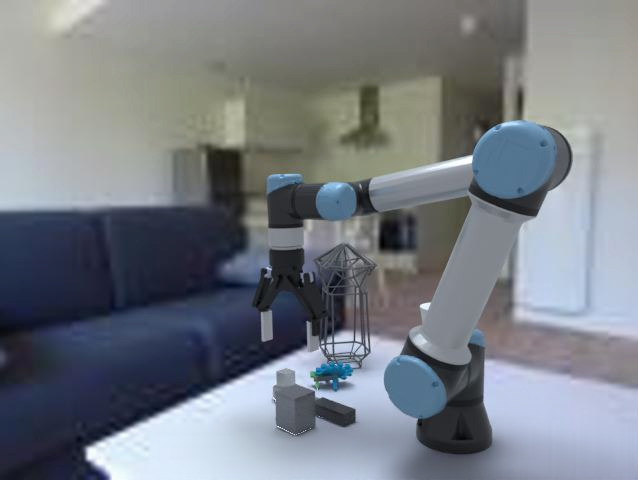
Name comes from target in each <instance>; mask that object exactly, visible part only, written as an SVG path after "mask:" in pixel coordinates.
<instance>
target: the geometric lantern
mask: <svg viewBox="0 0 638 480" xmlns="http://www.w3.org/2000/svg"><path fill="white" fill-rule="evenodd" d="M347 248H348V250H349V251H350V252H351V253H352V254H353V255H354V256H355V257H353V258H350V255H349V252H348V250H347ZM340 256H341V257H340ZM339 258H341V259H339ZM359 260H361V261H362V263H363V266H357V267H354V265H355V264H356V263H357V262H358V261H359ZM352 261H353V262H352ZM312 262H314V265H315V266H316V269H317V275H318V276H319V277H320V281H321V284H322V287H321V292H322V293H321V296H322V299H323V301H324V300H325V293H326V300H325V301H326V302H325V301H324V302H325V307H326V309H327V312H328V313H329V304H330V301H329V300H330V296H331V340H332V341H331V342H327V341H328V325H329V323H328V321H329V316H328V317H326V318H323V319H325V321H324V335H322V334H323V319H321V321H320V327H321V333H320V335H319V350H321V353H322V355H323V356H324V358H326V363H327V365H328V364H329V363H328V362H329V361H331V362H334V364H335V365H337V366H338V362H340V361H342V362H343V364H352V363H356V364H357V365H359V366H358V367H352V368H353V370H357V369H362V367H363V360H364V359H365V358H366V357H368V355H370V354H371V352H372V351H371V350H372V349H371V335H370V334H371V333H370V320H369V318H370V317H369V316H370V315H369V303H368V301H369V298H368V293H369V292H368V291H367V290H366V288H367V278H368V276H371V275H372V272H373V271H374V269H376V267H378V264H376V262H374V261H373V260H371V259H370V258H369V257H367V256H366V255H364V254H363V253H362V252H361V251H359V250H358V249H357V248H355V247H354V246H352V245H351V244H350V243H346V242H340V243H339V244H338V245H337V244H336V246H334V247H332V248H330V249H329V250H327V251H326V252H324V253H323V254H321V255H319V256H318V257H316V258H314V259H312ZM329 262H330V264H329ZM348 262H349V263H348ZM333 263H335V266H334V265H332V264H333ZM338 263H340V266H338ZM347 263H348V264H349V266H347ZM326 266H327V267H326ZM324 269H326V270H328V269H329V270H330V271H331V272H332V274H331V277H330V278H329V281H328V283H327V285H326V282H325V279H324V271H325V270H324ZM360 269H361V270H362V269H363V270H362V271H359V272H358V273H356V274H355V271H356V270H360ZM348 270H351V272H352V276H350V275H349V273H348V272H347V271H348ZM339 272H341V274H340V273H339ZM344 273H345V274H346V276H347V277H345V275H344ZM335 274H336V275H337V276H338V277H340V278H341V279H340V280H339V281H338V283H337V284H336V285H333V286H331V285H330V284H331V282H332V280H333V278H334V276H335ZM362 274H363V277H362V279H361V282H360V284H359V282H358V280H357V279H356V277H358V276H360V275H362ZM342 280H344V281H345V280H346V281H347V280H350V281H351V283H352V284H353V285H352V284H351V285H340V283H341V282H342ZM353 280H354V281H353ZM363 283H364V288H363V287H362V285H363ZM349 287H351V288H353V287H354V289H353V291H354V293H334V291H335V290H336V288H349ZM330 288H333V290H332V291H331V292H329V289H330ZM357 288H358V292H357ZM357 295H358V298H359V300H358V301H359V315H360V316H359V318H360V336H361V339H360V341H356V328H357V327H356V326H357V325H356V323H357V322H356V321H357V315H356V314H357ZM364 295H365V308H364ZM334 296H354V300H353V303H354V304H353V340H348V341H335V318H334V317H335V312H334V308H335V307H334V306H335V305H334V302H335V301H334ZM364 309H366V311H365V310H364ZM364 311H365V312H366V325H367V326H366V327H367V330H366V329H365V312H364ZM321 313H322V312H321ZM366 331H367V341H366ZM322 336H323V337H324V338H323V343H322ZM366 342H367V343H366ZM340 344H341V345H342V344H343V345H345V344H352V346H351V350H350V351H345V352H338V353H335V345H340ZM355 344H358V345H359V346H358V347H357V348H356V349H355V351H354V352H353V350H354V346H355ZM327 345H328V346H329V345H331V346H332V347H331V348H332V350H331V351H332V353H330V352H329V350H328V347H327ZM367 345H368V347H367ZM322 346H324V347H322ZM361 347H363V353H364V354H356V353H357V352H358V350H359V349H360V348H361ZM361 357H362V358H361ZM332 358H333V359H332ZM336 358H339V359H336ZM356 358H357V359H359V360H357V359H356ZM344 360H345V361H344ZM347 360H349V361H347ZM351 360H352V361H351Z"/></svg>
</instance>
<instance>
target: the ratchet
mask: <svg viewBox="0 0 638 480" xmlns="http://www.w3.org/2000/svg"><path fill="white" fill-rule="evenodd" d="M275 372H276V384H275V385H273V386H272V398H273V397H274V398H275V399H276V395H275V392H276V391H278V390H281V389H284V388H287V387H289V386H292V385H295V384H296V371H295V370H293V369H290V368H288V367H287V368H282V369H278V370H276V371H275ZM315 411H316V415H318V416H320V417H323V418H325V419H327V420H326V421H328V420H329V421H328V422H330V421H331V423H333V424H335V423H336V425H339V426H340V427H343V428H345V427H347V426H349V425H350V424H353V423H356V422H357V421H356V419H357V418H356V417H357V415H356V413H357V411H356V408H353V407H351V406H348V405H346V404H343V403H339V402H337V401H334V400H331V399H329V398H326V397H317V396H315ZM318 416H317V417H318ZM320 417H319V418H320ZM323 418H322V419H323ZM325 419H324V420H325Z"/></svg>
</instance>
